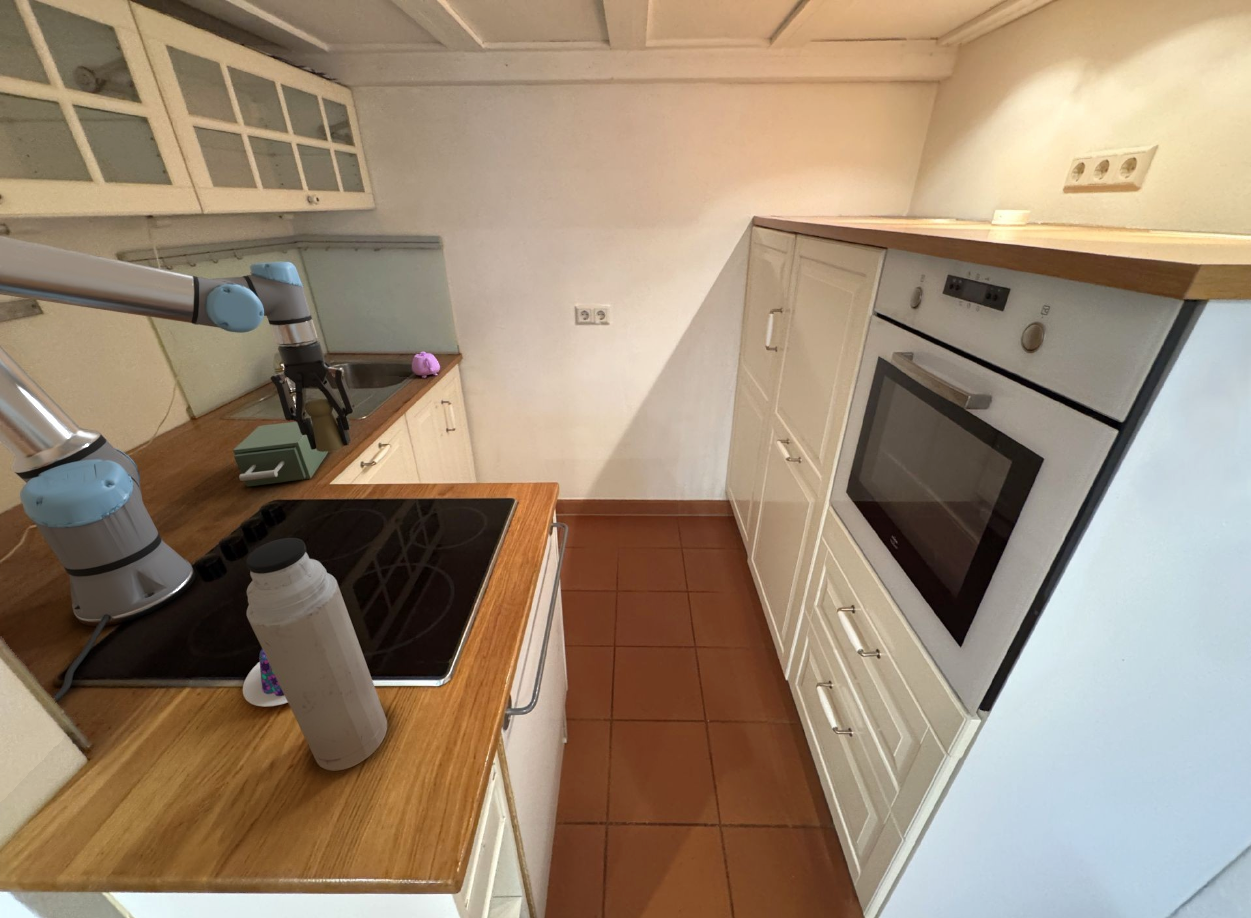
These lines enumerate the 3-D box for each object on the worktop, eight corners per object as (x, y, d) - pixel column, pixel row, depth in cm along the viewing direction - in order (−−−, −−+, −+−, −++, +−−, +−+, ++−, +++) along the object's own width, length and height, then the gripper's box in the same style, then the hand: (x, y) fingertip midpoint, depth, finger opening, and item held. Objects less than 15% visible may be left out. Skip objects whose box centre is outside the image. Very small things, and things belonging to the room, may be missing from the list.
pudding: (305, 630, 77) (294, 604, 75) (362, 652, 73) (352, 625, 70) (224, 693, 67) (208, 665, 65) (284, 722, 63) (270, 694, 60)
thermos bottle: (298, 760, 58) (202, 569, 46) (350, 702, 65) (278, 522, 53) (353, 779, 56) (268, 583, 44) (401, 717, 63) (339, 533, 51)
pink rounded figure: (420, 380, 196) (415, 357, 192) (407, 373, 207) (402, 350, 203) (446, 375, 202) (441, 352, 198) (432, 368, 213) (427, 346, 209)
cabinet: (310, 478, 123) (298, 442, 119) (247, 486, 120) (232, 450, 116) (328, 452, 137) (317, 419, 133) (272, 459, 134) (259, 425, 130)
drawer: (295, 491, 115) (284, 461, 112) (233, 500, 113) (220, 469, 109) (321, 454, 134) (312, 426, 131) (269, 460, 131) (258, 432, 128)
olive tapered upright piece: (310, 448, 111) (294, 402, 107) (335, 438, 116) (321, 393, 111) (327, 453, 109) (311, 406, 104) (352, 443, 114) (338, 397, 109)
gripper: (352, 334, 107) (379, 433, 118) (253, 342, 103) (290, 444, 114) (343, 342, 101) (373, 446, 111) (238, 351, 97) (278, 457, 107)
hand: (331, 444), depth 112 cm, fingers closed on olive tapered upright piece, 6 cm apart
